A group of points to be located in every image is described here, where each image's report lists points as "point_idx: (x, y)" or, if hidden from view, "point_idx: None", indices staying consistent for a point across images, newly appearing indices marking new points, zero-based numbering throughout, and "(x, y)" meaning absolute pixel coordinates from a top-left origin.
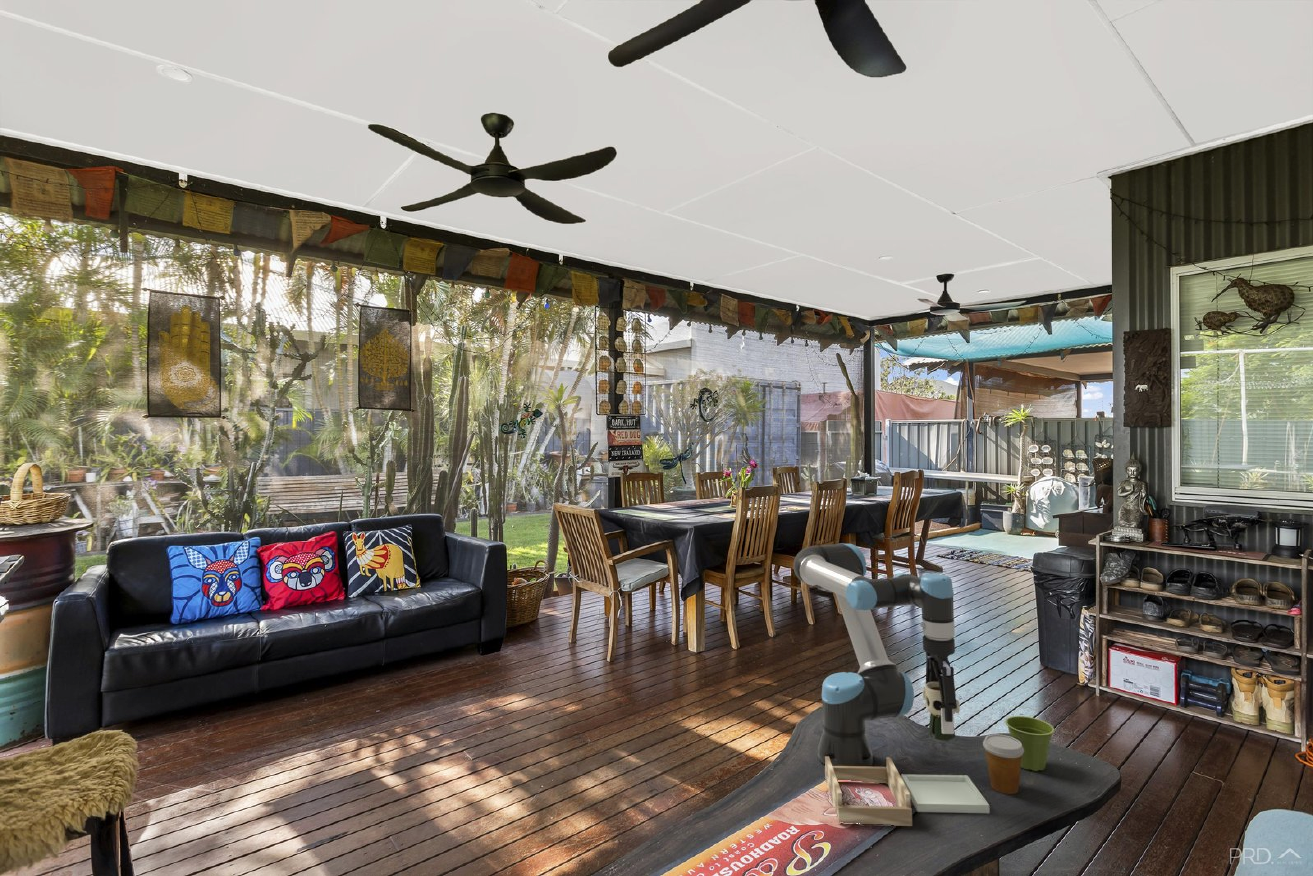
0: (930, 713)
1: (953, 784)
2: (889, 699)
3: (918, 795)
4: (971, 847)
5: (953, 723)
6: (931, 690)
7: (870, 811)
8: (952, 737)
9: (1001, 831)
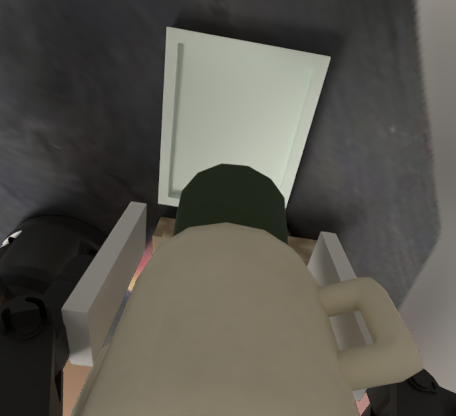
0: (138, 262)
1: (195, 88)
2: None
3: None
4: (419, 172)
5: (350, 269)
6: None
7: None
8: (282, 198)
9: (400, 72)
